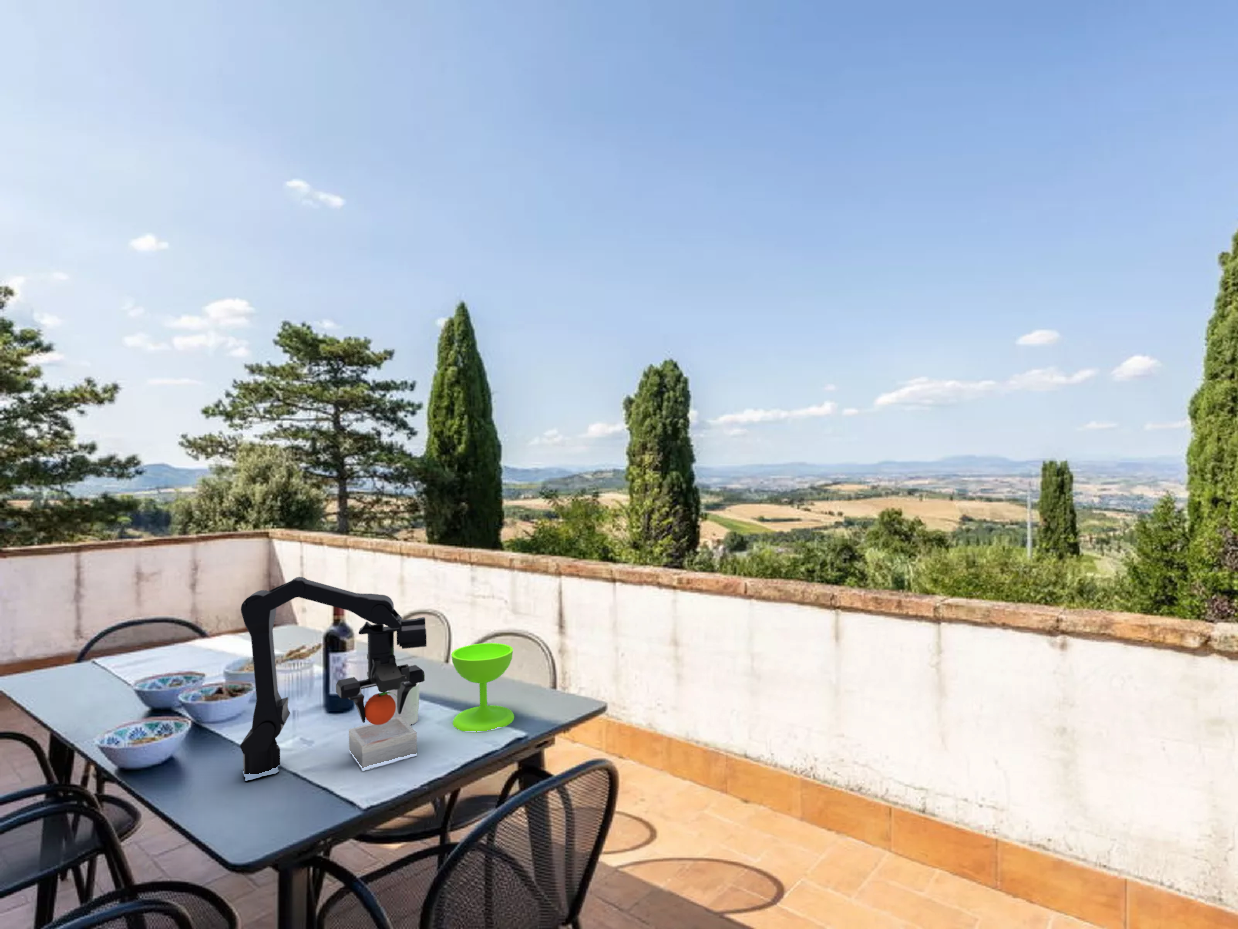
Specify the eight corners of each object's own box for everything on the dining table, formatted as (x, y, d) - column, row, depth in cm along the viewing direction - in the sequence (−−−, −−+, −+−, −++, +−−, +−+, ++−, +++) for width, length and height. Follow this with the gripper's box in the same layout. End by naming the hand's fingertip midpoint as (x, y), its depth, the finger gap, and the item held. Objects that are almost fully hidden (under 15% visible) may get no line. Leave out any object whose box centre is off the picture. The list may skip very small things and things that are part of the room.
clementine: (390, 714, 150) (389, 684, 150) (406, 721, 146) (405, 690, 146) (358, 725, 144) (357, 694, 144) (374, 732, 140) (373, 700, 140)
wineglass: (439, 725, 161) (438, 656, 161) (480, 704, 175) (479, 640, 175) (487, 737, 153) (486, 663, 153) (526, 713, 167) (525, 647, 168)
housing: (362, 771, 136) (362, 746, 137) (349, 752, 146) (348, 729, 146) (417, 756, 144) (416, 732, 144) (400, 738, 153) (400, 716, 153)
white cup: (426, 717, 166) (425, 680, 167) (408, 729, 159) (408, 690, 159) (400, 715, 169) (400, 678, 169) (382, 726, 161) (381, 688, 161)
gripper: (346, 667, 133) (347, 740, 133) (432, 651, 144) (433, 718, 144) (335, 655, 142) (335, 723, 142) (416, 641, 153) (417, 704, 153)
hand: (381, 717), depth 145 cm, fingers closed on clementine, 8 cm apart
